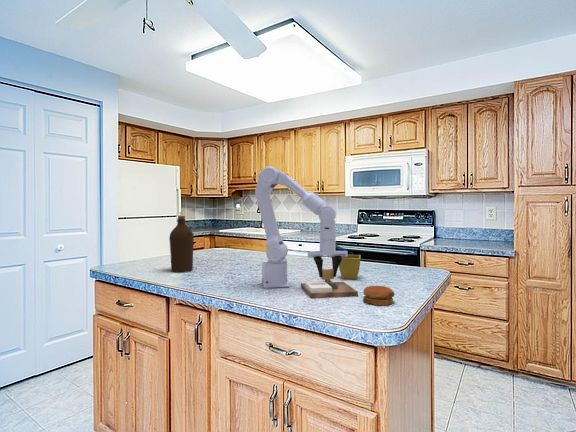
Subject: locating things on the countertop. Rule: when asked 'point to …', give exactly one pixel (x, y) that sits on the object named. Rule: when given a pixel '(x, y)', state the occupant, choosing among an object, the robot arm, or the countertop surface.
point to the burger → (378, 295)
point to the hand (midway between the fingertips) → (327, 276)
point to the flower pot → (350, 266)
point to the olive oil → (181, 247)
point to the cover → (318, 286)
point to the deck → (333, 291)
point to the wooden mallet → (329, 277)
